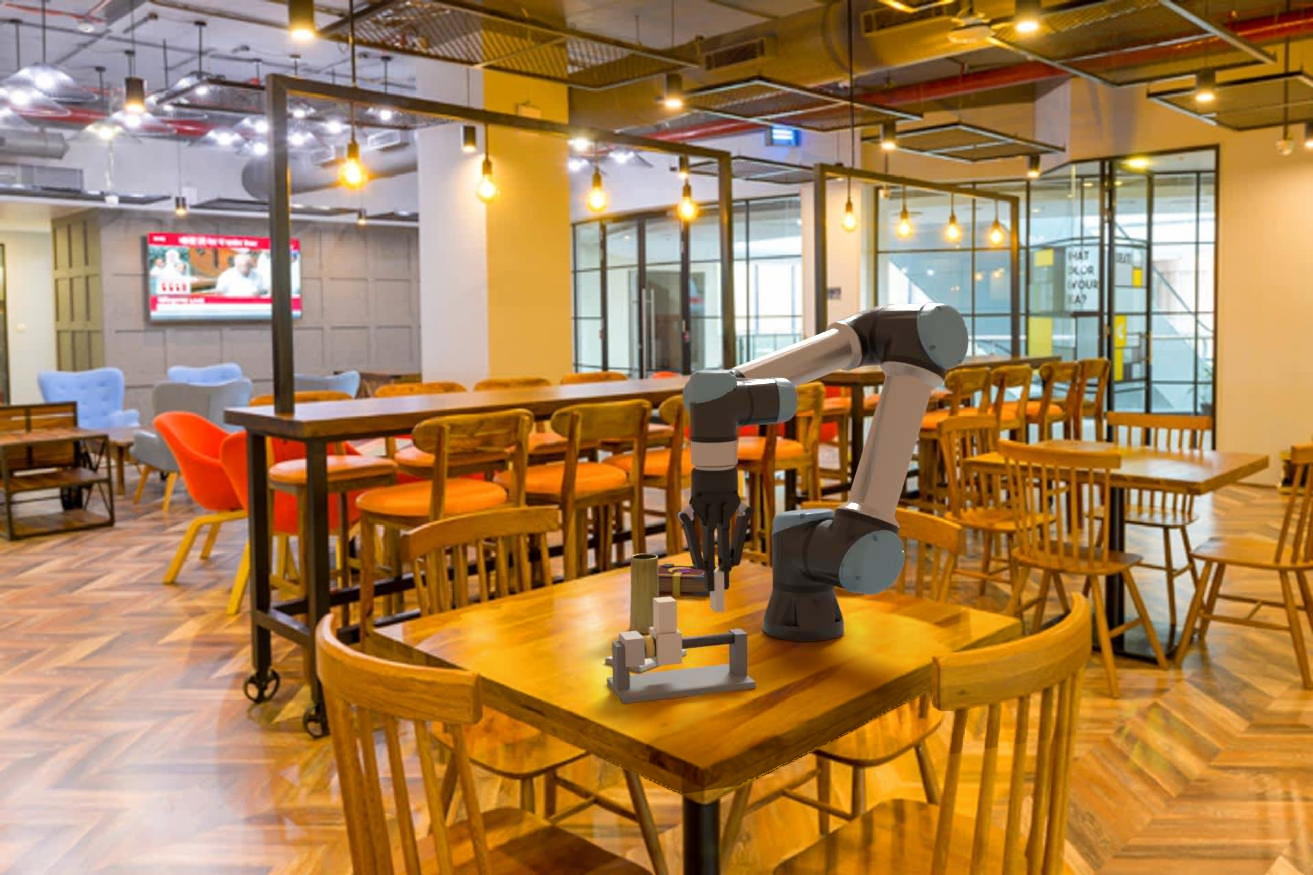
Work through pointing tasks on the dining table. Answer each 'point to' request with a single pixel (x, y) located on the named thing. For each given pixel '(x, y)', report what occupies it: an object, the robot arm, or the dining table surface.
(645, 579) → the vase
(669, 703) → the dining table surface
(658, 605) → the stacked pale cubes
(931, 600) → the dining table surface
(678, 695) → the cord rail
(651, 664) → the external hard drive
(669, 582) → the decorative book
